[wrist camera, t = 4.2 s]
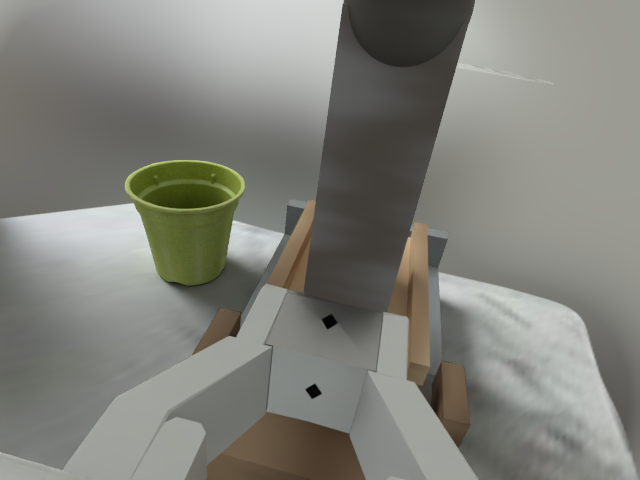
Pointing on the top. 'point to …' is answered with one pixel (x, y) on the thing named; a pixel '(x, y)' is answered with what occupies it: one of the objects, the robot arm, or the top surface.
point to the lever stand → (316, 430)
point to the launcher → (379, 165)
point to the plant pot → (187, 216)
